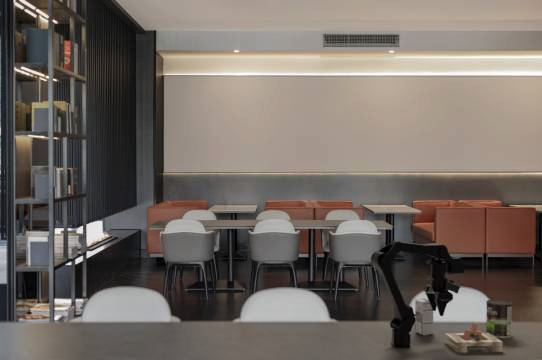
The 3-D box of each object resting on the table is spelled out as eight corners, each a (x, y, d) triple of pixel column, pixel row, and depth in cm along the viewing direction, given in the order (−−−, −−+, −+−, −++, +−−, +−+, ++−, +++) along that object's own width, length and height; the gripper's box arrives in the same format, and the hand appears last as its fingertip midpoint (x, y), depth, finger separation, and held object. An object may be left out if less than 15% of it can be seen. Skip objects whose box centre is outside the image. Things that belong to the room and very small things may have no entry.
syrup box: (433, 334, 278) (434, 300, 278) (422, 335, 276) (422, 301, 275) (426, 331, 283) (426, 297, 283) (414, 332, 281) (414, 298, 281)
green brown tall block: (497, 339, 271) (497, 305, 270) (480, 333, 280) (481, 300, 280) (517, 337, 274) (517, 303, 274) (500, 331, 284) (500, 298, 284)
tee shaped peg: (466, 340, 257) (469, 322, 256) (463, 338, 260) (466, 321, 259) (480, 343, 257) (483, 324, 257) (478, 340, 260) (480, 323, 260)
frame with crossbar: (456, 352, 251) (456, 338, 251) (444, 342, 265) (444, 329, 265) (502, 352, 252) (502, 337, 252) (488, 342, 266) (488, 328, 266)
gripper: (466, 278, 255) (465, 318, 255) (450, 271, 274) (449, 308, 274) (438, 278, 254) (437, 318, 255) (423, 271, 273) (423, 308, 273)
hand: (437, 313), depth 264 cm, fingers open, 9 cm apart
